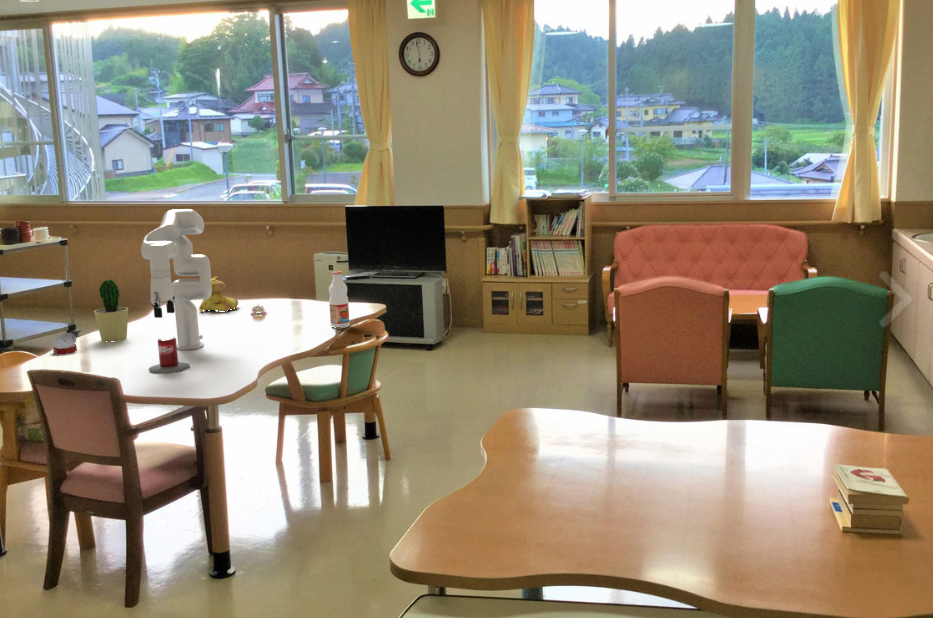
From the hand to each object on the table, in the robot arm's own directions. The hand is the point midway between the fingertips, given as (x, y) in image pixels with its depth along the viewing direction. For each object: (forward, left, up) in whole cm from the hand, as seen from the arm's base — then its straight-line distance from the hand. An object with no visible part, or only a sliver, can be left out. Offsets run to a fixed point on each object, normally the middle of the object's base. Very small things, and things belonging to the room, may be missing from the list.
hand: (164, 315), depth 356 cm
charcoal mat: (+1, +1, -22) cm, 22 cm away
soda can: (+1, 0, -22) cm, 22 cm away
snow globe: (-25, -66, -23) cm, 74 cm away
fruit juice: (-87, +45, -23) cm, 100 cm away
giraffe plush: (-131, -43, -23) cm, 140 cm away
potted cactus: (-52, -58, -23) cm, 82 cm away
